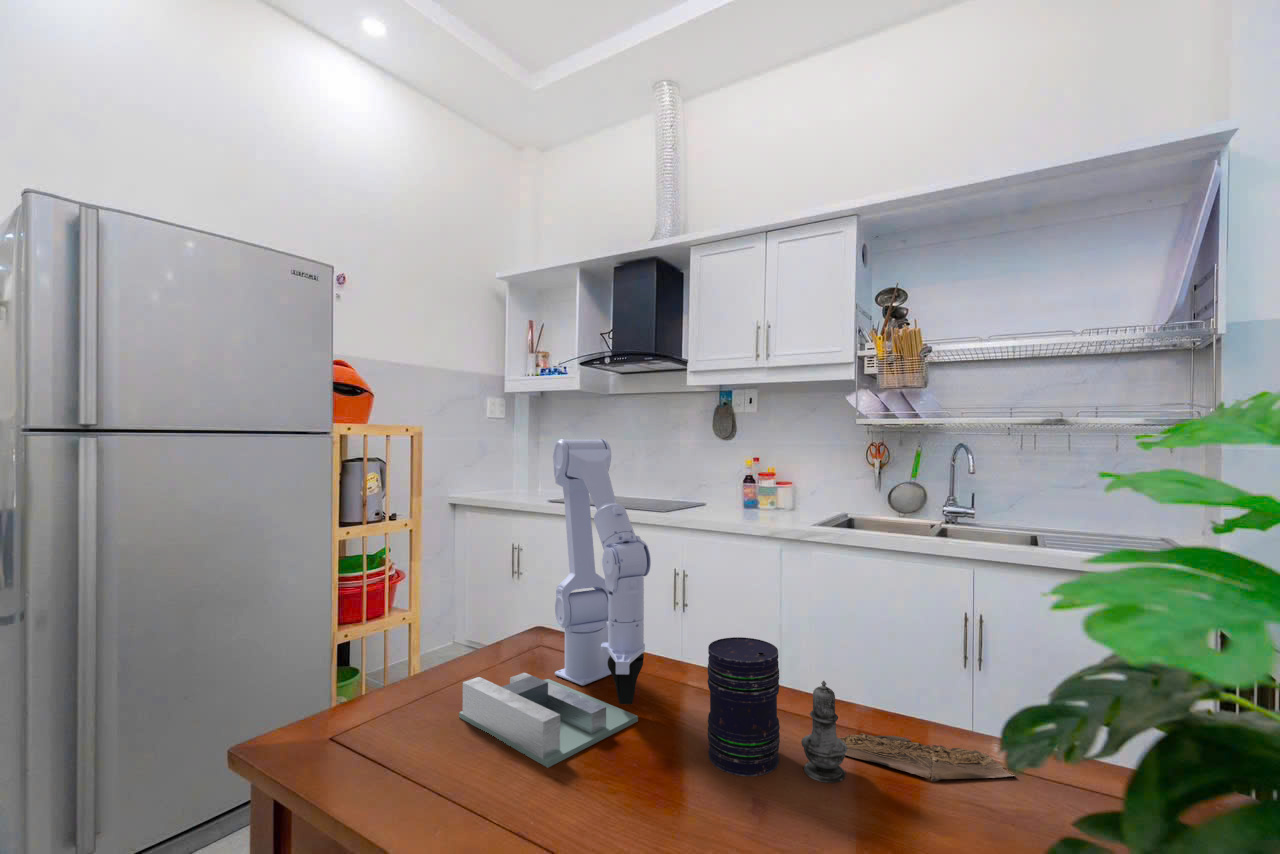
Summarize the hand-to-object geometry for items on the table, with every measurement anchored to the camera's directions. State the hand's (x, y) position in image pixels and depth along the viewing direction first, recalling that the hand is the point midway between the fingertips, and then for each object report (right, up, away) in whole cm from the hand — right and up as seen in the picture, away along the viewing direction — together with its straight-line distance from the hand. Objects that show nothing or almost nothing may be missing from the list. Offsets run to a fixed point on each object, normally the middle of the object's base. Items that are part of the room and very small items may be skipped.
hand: (626, 702), depth 97 cm
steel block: (-16, -1, -3) cm, 16 cm away
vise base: (-12, -2, -2) cm, 13 cm away
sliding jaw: (-11, -1, -1) cm, 11 cm away
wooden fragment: (+39, -2, -13) cm, 41 cm away
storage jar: (+17, -2, -13) cm, 21 cm away
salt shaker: (+27, -2, -17) cm, 32 cm away
